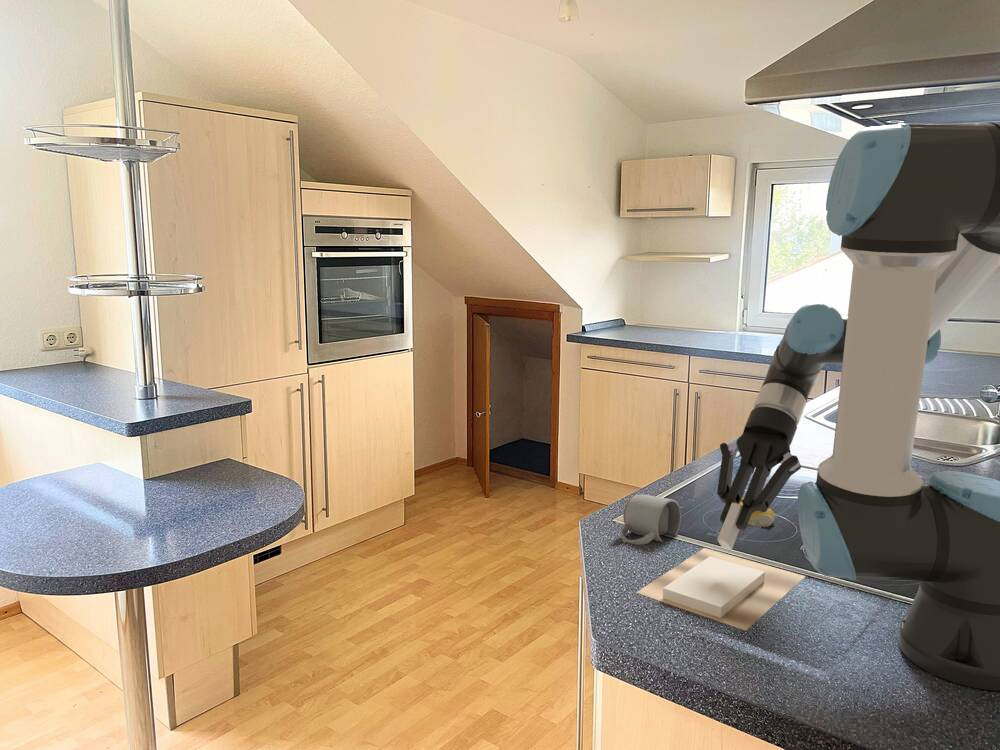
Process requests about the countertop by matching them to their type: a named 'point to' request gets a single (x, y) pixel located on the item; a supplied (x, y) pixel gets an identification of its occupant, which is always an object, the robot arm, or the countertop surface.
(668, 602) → the cork mat
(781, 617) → the countertop surface
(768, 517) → the bread roll
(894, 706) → the countertop surface
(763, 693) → the countertop surface
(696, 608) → the ceramic tile
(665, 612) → the countertop surface
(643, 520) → the ceramic mug
